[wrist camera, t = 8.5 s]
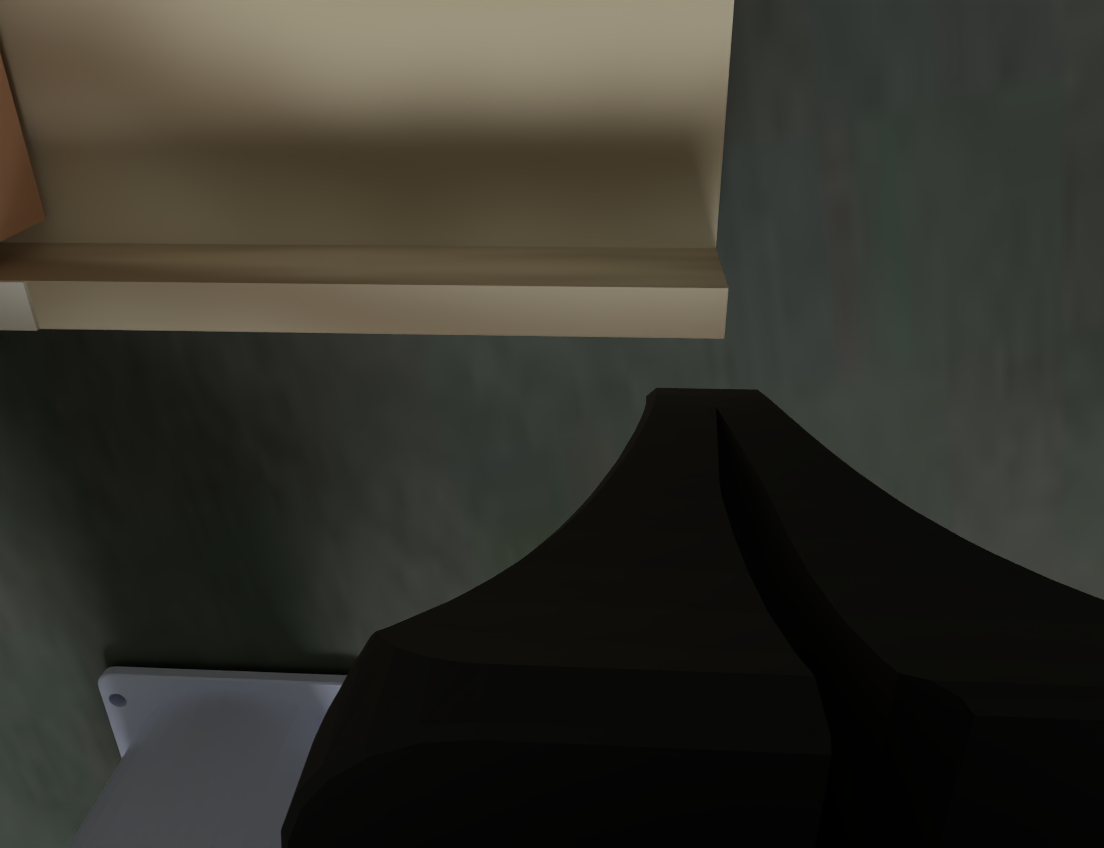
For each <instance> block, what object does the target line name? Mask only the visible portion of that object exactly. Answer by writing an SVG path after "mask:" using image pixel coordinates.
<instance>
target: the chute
mask: <svg viewBox="0 0 1104 848" xmlns="http://www.w3.org/2000/svg"><path fill="white" fill-rule="evenodd" d="M733 9H734V0H0V54H1V57H2V61H3V65H4V68H5V72H6V76H7V79H8V83H9V87H10V90H11V94H12V98H13V101H14V105H15V109H16V112H17V116H18V119H19V123H20V127H21V130H22V134H23V138H24V141H25V145H26V149H27V152H28V156H29V160H30V163H31V167H32V171H33V174H34V178H35V182H36V185H37V189H38V192H39V196H40V200H41V203H42V207H43V211H44V214H45V218H46V220H44V221H42V222H40V223H38V224H35V225H33V226H31V227H29V228H27V229H25V230H23V231H21V232H19V233H17V234H15V235H13V236H11V237H9V238H7V239H5V240H3V241H0V330H24V331H37V330H39V329H89V330H159V331H230V332H300V333H370V334H440V335H510V336H580V337H651V338H721V339H724V335H725V323H726V311H727V299H728V286H727V282H726V279H725V276H724V273H723V270H722V266H721V263H720V260H719V257H718V254H717V251H716V238H717V225H718V211H719V198H720V184H721V171H722V157H723V144H724V130H725V117H726V103H727V90H728V76H729V63H730V49H731V36H732V23H733Z"/></svg>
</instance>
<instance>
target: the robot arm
mask: <svg viewBox="0 0 1104 848" xmlns="http://www.w3.org/2000/svg"><path fill="white" fill-rule="evenodd" d="M98 687H99V690H100V693H101V696H102V699H103V702H104V705H105V709H106V712H107V715H108V718H109V721H110V724H111V727H112V730H113V733H114V736H115V739H116V742H117V745H118V748H119V752H120V755H121V758H122V759H121V761H120V762H119V764H118V766H117V767H116V769H115V771H114V772H113V774H112V776H111V777H110V779H109V780H108V782H107V784H106V785H105V787H104V789H103V790H102V792H101V794H100V795H99V797H98V799H97V800H96V802H95V803H94V805H93V807H92V808H91V810H90V812H89V813H88V815H87V817H86V818H85V820H84V822H83V823H82V825H81V826H80V828H79V830H78V831H77V833H76V835H75V836H74V838H73V840H72V841H71V843H70V845H69V846H68V848H1104V600H1102V599H1099V598H1097V597H1094V596H1091V595H1089V594H1086V593H1084V592H1081V591H1079V590H1076V589H1074V588H1071V587H1069V586H1066V585H1064V584H1061V583H1059V582H1056V581H1054V580H1051V579H1049V578H1046V577H1044V576H1042V575H1040V574H1038V573H1035V572H1033V571H1031V570H1029V569H1027V568H1024V567H1022V566H1020V565H1018V564H1015V563H1013V562H1011V561H1009V560H1007V559H1004V558H1002V557H1000V556H998V555H995V554H993V553H991V552H989V551H987V550H985V549H983V548H981V547H979V546H977V545H975V544H973V543H971V542H969V541H967V540H965V539H964V538H962V537H960V536H958V535H956V534H955V533H953V532H951V531H949V530H948V529H946V528H944V527H942V526H940V525H939V524H937V523H935V522H933V521H932V520H930V519H928V518H926V517H925V516H923V515H921V514H919V513H917V512H916V511H914V510H913V509H911V508H909V507H908V506H906V505H905V504H903V503H901V502H900V501H898V500H897V499H895V498H894V497H892V496H891V495H889V494H888V493H887V492H885V491H884V490H882V489H881V488H879V487H878V486H877V485H875V484H874V483H872V482H871V481H869V480H868V479H866V478H865V477H864V476H862V475H861V474H859V473H858V472H857V471H855V470H854V469H853V468H851V467H850V466H849V465H847V464H846V463H845V462H843V461H842V460H841V459H840V458H838V457H837V456H836V455H835V454H833V453H832V452H831V451H829V450H828V449H827V448H826V447H825V446H823V445H822V444H821V443H820V442H818V441H817V440H816V439H815V438H814V437H813V436H811V435H810V434H809V433H808V432H807V431H805V430H804V429H803V428H802V427H801V426H800V425H798V424H797V423H796V422H795V421H794V420H793V419H792V418H790V417H789V416H788V415H787V414H786V413H785V412H784V411H782V410H781V409H780V408H779V407H778V406H777V405H776V404H774V403H773V402H772V401H771V400H770V399H769V398H767V397H766V396H765V395H764V394H762V393H761V392H760V391H758V390H744V389H688V388H656V389H654V390H653V391H652V392H651V393H650V394H649V395H647V396H646V406H645V410H644V412H643V415H642V417H641V420H640V422H639V424H638V426H637V428H636V430H635V432H634V434H633V435H632V437H631V439H630V440H629V442H628V444H627V445H626V447H625V449H624V450H623V452H622V454H621V455H620V457H619V459H618V460H617V462H616V463H615V464H614V466H613V467H612V468H611V470H610V471H609V472H608V474H607V475H606V476H605V478H604V479H603V480H602V482H601V483H600V484H599V486H598V487H597V488H596V490H595V491H594V492H593V493H592V494H591V496H590V497H589V498H588V499H587V500H586V501H585V502H584V504H583V505H582V506H581V507H580V508H579V509H578V510H577V511H576V512H575V513H574V514H573V515H572V516H571V517H570V518H569V519H568V520H567V521H566V522H565V523H564V524H563V525H562V526H561V527H560V528H559V529H558V530H557V531H556V532H555V533H553V534H552V535H551V536H550V537H549V538H547V539H546V540H545V541H544V542H543V543H541V544H540V545H539V546H538V547H537V548H535V549H534V550H533V551H532V552H530V553H529V554H528V555H527V556H525V557H524V558H523V559H521V560H520V561H518V562H517V563H515V564H514V565H512V566H511V567H509V568H508V569H506V570H504V571H503V572H501V573H500V574H498V575H496V576H495V577H493V578H492V579H490V580H488V581H486V582H484V583H483V584H481V585H479V586H477V587H475V588H474V589H472V590H470V591H468V592H466V593H464V594H462V595H460V596H458V597H456V598H454V599H452V600H450V601H448V602H446V603H444V604H442V605H439V606H437V607H435V608H432V609H430V610H428V611H425V612H423V613H421V614H418V615H416V616H414V617H411V618H409V619H407V620H404V621H402V622H400V623H397V624H395V625H393V626H390V627H387V628H385V629H382V630H379V631H376V632H375V633H374V634H373V635H372V636H371V637H370V638H369V640H368V642H367V643H366V645H365V646H364V648H363V650H362V651H361V653H360V655H359V656H358V658H357V660H356V661H355V663H354V665H353V666H352V668H351V670H350V671H349V673H348V675H326V674H300V673H273V672H247V671H221V670H195V669H169V668H143V667H117V666H115V667H109V668H107V669H106V670H105V671H104V672H103V673H102V675H101V676H100V678H99V680H98ZM121 695H122V696H121Z"/></svg>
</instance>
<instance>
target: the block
mask: <svg viewBox="0 0 1104 848" xmlns="http://www.w3.org/2000/svg"><path fill="white" fill-rule="evenodd" d="M44 220H46V218H45V214H44V211H43V207H42V203H41V200H40V196H39V192H38V189H37V185H36V182H35V178H34V174H33V171H32V167H31V163H30V160H29V156H28V152H27V149H26V145H25V141H24V138H23V134H22V130H21V127H20V123H19V119H18V116H17V112H16V109H15V105H14V101H13V98H12V94H11V90H10V87H9V83H8V79H7V76H6V72H5V68H4V65H3V61H2V57H1V54H0V241H3V240H5V239H7V238H9V237H11V236H13V235H15V234H17V233H19V232H21V231H23V230H25V229H27V228H29V227H31V226H33V225H35V224H38V223H40V222H42V221H44Z"/></svg>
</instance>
